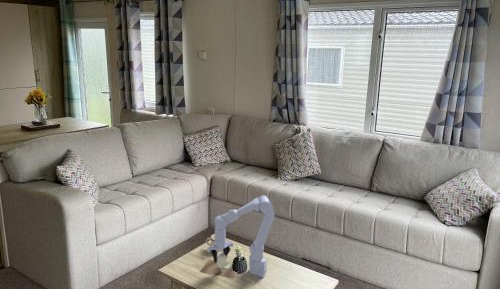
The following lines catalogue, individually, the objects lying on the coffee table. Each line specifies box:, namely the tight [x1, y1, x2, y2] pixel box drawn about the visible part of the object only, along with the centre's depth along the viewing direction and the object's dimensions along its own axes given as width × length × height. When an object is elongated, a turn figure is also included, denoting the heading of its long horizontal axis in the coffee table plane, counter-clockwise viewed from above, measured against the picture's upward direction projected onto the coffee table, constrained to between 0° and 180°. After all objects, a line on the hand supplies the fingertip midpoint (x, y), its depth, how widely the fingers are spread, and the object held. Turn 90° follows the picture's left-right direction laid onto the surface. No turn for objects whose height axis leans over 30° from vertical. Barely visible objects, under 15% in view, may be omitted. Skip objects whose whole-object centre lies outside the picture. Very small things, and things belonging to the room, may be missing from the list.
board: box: [199, 258, 239, 279], centre depth 223 cm, size 20×14×4 cm
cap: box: [216, 252, 227, 265], centre depth 217 cm, size 5×5×4 cm
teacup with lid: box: [205, 233, 223, 253], centre depth 244 cm, size 12×9×12 cm
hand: (220, 260), depth 217 cm, fingers closed on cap, 5 cm apart
